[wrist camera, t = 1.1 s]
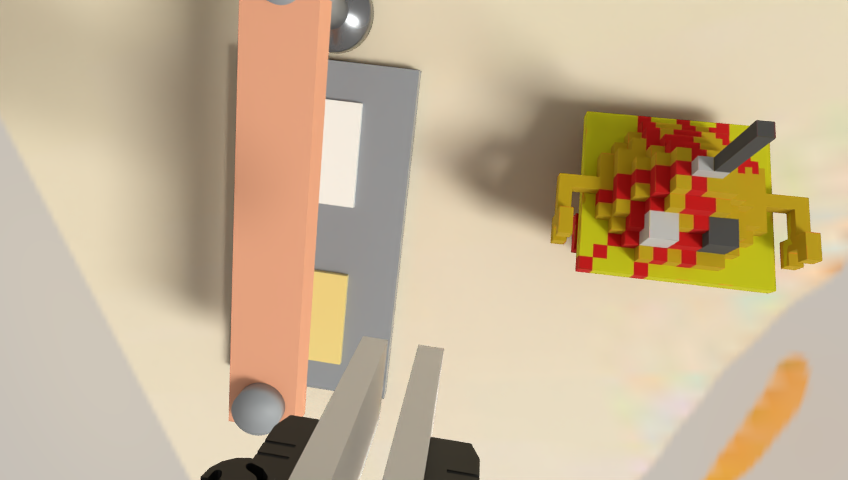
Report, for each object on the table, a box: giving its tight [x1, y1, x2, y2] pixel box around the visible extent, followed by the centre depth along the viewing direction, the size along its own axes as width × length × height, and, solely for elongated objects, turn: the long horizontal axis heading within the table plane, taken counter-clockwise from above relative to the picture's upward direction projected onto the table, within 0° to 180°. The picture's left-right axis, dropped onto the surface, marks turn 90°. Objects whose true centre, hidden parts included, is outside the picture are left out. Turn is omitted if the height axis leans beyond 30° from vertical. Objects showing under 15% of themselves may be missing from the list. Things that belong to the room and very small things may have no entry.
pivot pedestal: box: [329, 0, 374, 53], centre depth 34 cm, size 5×5×1 cm
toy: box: [551, 111, 822, 293], centre depth 30 cm, size 14×10×15 cm
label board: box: [307, 60, 421, 399], centre depth 38 cm, size 24×12×1 cm, turn 173°
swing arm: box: [229, 0, 349, 435], centre depth 32 cm, size 26×4×10 cm, turn 173°
